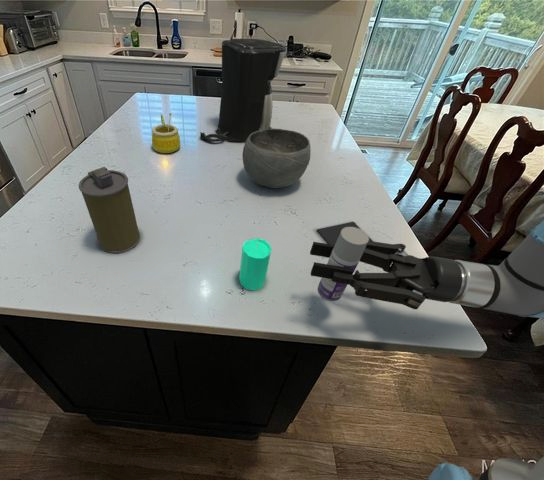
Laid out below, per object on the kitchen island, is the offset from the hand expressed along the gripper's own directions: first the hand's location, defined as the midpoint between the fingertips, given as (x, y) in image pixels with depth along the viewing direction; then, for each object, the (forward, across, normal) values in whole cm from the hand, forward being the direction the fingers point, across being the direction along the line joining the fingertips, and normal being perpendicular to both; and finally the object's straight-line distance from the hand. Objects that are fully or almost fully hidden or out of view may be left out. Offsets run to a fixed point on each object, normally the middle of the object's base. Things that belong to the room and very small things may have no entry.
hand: (312, 258), depth 53 cm
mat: (-13, +24, -14) cm, 31 cm away
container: (-5, 0, -8) cm, 10 cm away
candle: (+10, +5, -15) cm, 19 cm away
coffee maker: (+28, +88, -14) cm, 94 cm away
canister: (+46, +11, -15) cm, 50 cm away
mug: (+51, +64, -15) cm, 84 cm away
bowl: (+9, +49, -15) cm, 52 cm away
